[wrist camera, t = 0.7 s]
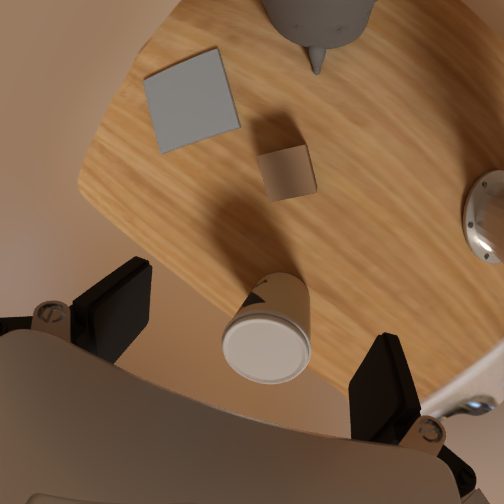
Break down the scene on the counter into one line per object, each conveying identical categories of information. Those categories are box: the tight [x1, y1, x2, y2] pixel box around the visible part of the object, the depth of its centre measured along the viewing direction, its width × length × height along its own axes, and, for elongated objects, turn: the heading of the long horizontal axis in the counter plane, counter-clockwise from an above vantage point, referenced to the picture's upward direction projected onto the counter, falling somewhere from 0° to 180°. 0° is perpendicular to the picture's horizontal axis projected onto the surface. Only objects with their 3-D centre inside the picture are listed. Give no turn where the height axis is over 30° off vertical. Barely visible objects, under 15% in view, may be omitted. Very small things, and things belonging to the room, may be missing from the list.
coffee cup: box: [222, 273, 311, 384], centre depth 34 cm, size 9×9×12 cm
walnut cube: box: [257, 145, 317, 203], centre depth 31 cm, size 5×5×5 cm
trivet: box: [143, 49, 241, 154], centre depth 32 cm, size 11×11×1 cm
